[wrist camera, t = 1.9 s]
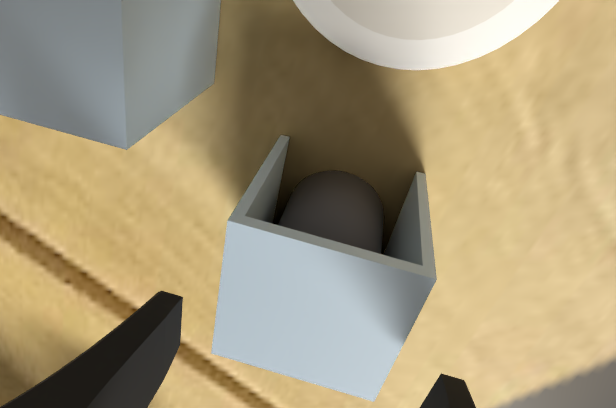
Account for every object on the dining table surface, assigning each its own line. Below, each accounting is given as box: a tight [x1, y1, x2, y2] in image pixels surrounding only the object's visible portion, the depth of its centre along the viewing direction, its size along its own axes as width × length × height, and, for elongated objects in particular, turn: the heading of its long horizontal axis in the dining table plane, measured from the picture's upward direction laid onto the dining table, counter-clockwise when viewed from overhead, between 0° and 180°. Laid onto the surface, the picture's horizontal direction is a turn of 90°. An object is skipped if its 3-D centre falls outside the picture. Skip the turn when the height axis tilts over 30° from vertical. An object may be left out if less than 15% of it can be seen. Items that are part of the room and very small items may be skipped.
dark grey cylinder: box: [278, 171, 384, 254], centre depth 16 cm, size 4×4×4 cm
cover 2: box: [211, 135, 437, 402], centre depth 15 cm, size 6×6×6 cm
